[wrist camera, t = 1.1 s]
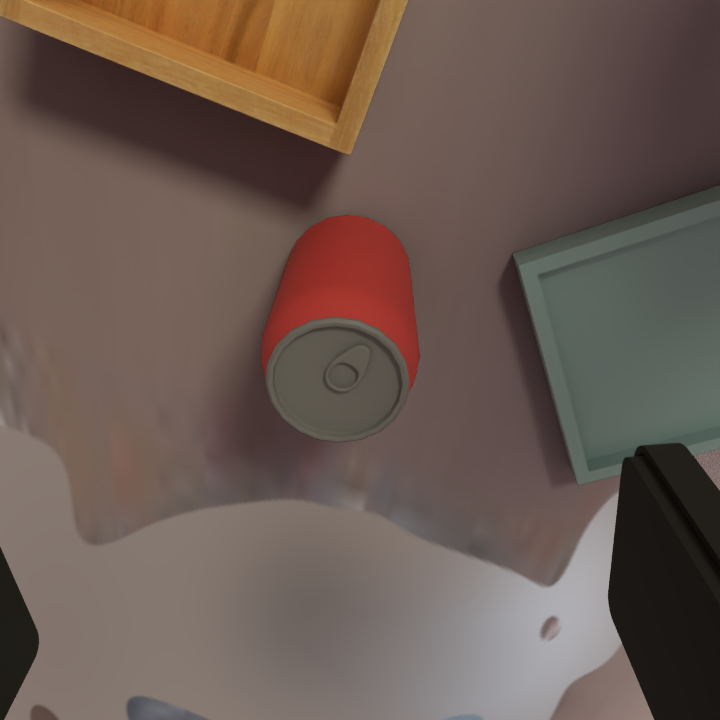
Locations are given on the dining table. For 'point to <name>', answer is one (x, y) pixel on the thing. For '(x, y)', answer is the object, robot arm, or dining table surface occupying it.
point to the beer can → (342, 331)
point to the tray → (241, 52)
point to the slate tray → (631, 331)
